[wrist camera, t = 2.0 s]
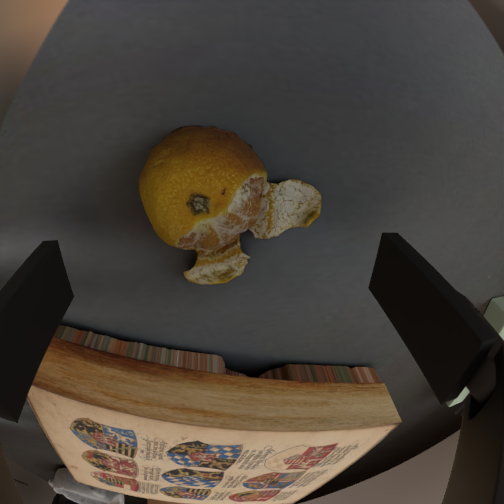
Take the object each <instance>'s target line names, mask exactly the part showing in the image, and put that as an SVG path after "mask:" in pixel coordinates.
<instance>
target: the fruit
mask: <svg viewBox="0 0 504 504" xmlns="http://www.w3.org/2000/svg"><path fill="white" fill-rule="evenodd" d="M266 180H267V171H266V170H265V168H264V165H263V163H262V161H261V160H260V159H259V157H258V156H257V155H256V154H255V153H254V151H253V150H252V147H251V145H248V144H247V143H246V142H245V141H243V140H242V139H241V138H239V137H238V136H237V134H236V133H232V132H229V131H225V130H223V129H218V128H216V127H202V126H184V127H181V128H178V129H176V130H174V131H173V132H172V133H171V134H170V135H169V136H167V137H165V138H164V140H163V141H162V142H161V143H160V144H158V145H156V146H155V147H153V148H152V150H151V151H150V154H149V156H148V158H147V162H146V163H145V165H144V167H143V169H142V172H141V174H140V178H139V185H138V187H139V192H140V196H141V200H142V202H143V205H144V209H145V212H146V214H147V216H148V218H149V221H150V222H151V224H152V226H153V229H154V230H155V232H156V233H157V235H158V236H159V237H160V238H161V239H162V240H163V241H164V242H165V243H167V244H168V245H170V246H173V247H176V248H180V249H184V250H189V249H193V250H194V249H195V250H196V252H197V261H196V264H195V266H194V267H193V268H192V269H190V270H189V271H185V272H184V276H185V277H186V279H187V280H189V281H191V282H194V283H196V284H210V285H211V284H219V283H227V282H228V281H230V280H231V279H233V278H235V277H237V276H239V275H241V274H242V272H243V271H244V267H245V265H247V264H248V261H247V259H248V258H251V257H249V256H247V255H245V254H244V253H243V252H242V251H241V249H240V233H242V232H245V231H246V230H247V229H249V230H251V231H252V232H253V233H254V235H255V237H254V238H259V239H262V238H266V239H269V238H271V237H274V236H279V235H280V234H281V233H282V232H283V231H285V230H287V229H289V228H294V227H304V228H306V227H308V226H309V225H310V224H311V223H312V222H313V221H314V220H315V219H316V218H318V217H319V216H320V210H321V206H322V204H321V194H320V193H319V192H318V190H316V189H315V188H314V187H313V186H311V185H309V184H307V183H305V182H302V181H300V180H296V179H290V180H288V181H282V182H281V183H278V184H274V183H270V182H267V181H266Z"/></svg>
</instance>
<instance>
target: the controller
mask: <svg viewBox="0 0 504 504" xmlns="http://www.w3.org/2000/svg"><path fill="white" fill-rule="evenodd" d="M52 504H79V503H76V502H74V501H72V500H70V499H67V498H66V497H65V496H64V495H63V494H59V493H57V495H56V496H55V497H54V500H53V502H52Z"/></svg>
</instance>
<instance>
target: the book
mask: <svg viewBox="0 0 504 504" xmlns="http://www.w3.org/2000/svg"><path fill="white" fill-rule="evenodd" d="M27 400H28V402H29V404H30V406H31V408H32V410H33V412H34V414H35V416H36V418H37V420H38V422H39V423H40V425H41V427H42V429H43V431H44V432H45V434H46V436H47V437H48V439H49V441H50V443H51V444H52V446H53V447H54V449H55V451H56V452H57V454H58V455H59V457H60V458H61V460H62V462H63V463H64V465H65V466H66V467H67V469H68V470H69V472H70V473H71V475H72V476H73V477H74V479H75V480H76V482H80V483H83V484H86V485H90V486H93V487H97V488H101V489H105V490H109V491H113V492H117V493H122V494H126V495H131V496H136V497H142V498H147V499H154V500H160V501H168V502H176V503H185V504H293V503H295V502H297V501H299V500H300V499H302V498H303V497H305V496H307V495H308V494H310V493H311V492H313V491H315V490H316V489H318V488H319V487H321V486H322V485H324V484H325V483H327V482H328V481H330V480H331V479H332V478H334V477H335V476H337V475H338V474H339V473H341V472H342V471H344V470H345V469H346V468H348V467H349V466H350V465H352V464H353V463H354V462H356V461H357V460H358V459H359V458H361V457H362V456H363V455H364V454H366V453H367V452H368V451H369V450H371V449H372V448H373V447H374V446H375V445H377V444H378V443H379V442H380V441H381V440H382V439H384V438H385V437H386V436H387V435H388V434H389V433H390V432H391V431H393V430H394V429H395V428H396V427H397V426H398V425H399V424H400V423H401V422H402V421H401V419H400V417H399V415H398V412H397V410H396V408H395V406H394V403H393V401H392V399H391V397H390V395H389V392H388V390H387V388H386V386H385V384H384V382H381V381H380V379H379V377H378V375H377V373H376V371H375V369H374V368H370V367H354V368H349V367H347V366H328V365H327V366H321V365H306V364H305V365H300V364H298V365H293V364H287V365H285V366H284V367H281V368H277V369H273V370H268V371H267V372H265V373H264V374H262V375H260V376H259V378H253V377H247V376H246V375H245V374H242V373H238V372H234V371H231V370H229V369H226V368H225V364H224V361H223V359H222V357H221V356H218V355H213V354H204V353H195V352H188V351H180V350H174V349H170V350H169V349H167V348H160V347H155V346H151V345H150V346H149V345H146V344H143V343H137V342H126V341H121V340H117V339H114V338H111V337H109V336H107V335H105V336H103V335H101V334H100V335H99V334H94V333H93V332H91V331H90V332H88V331H80V330H77V329H75V328H70V327H69V326H63V325H59V326H58V328H57V330H56V332H55V334H54V336H53V338H52V340H51V343H50V345H49V347H48V349H47V351H46V353H45V355H44V358H43V360H42V362H41V364H40V367H39V369H38V371H37V373H36V376H35V378H34V381H33V383H32V385H31V388H30V390H29V393H28V396H27Z"/></svg>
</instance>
